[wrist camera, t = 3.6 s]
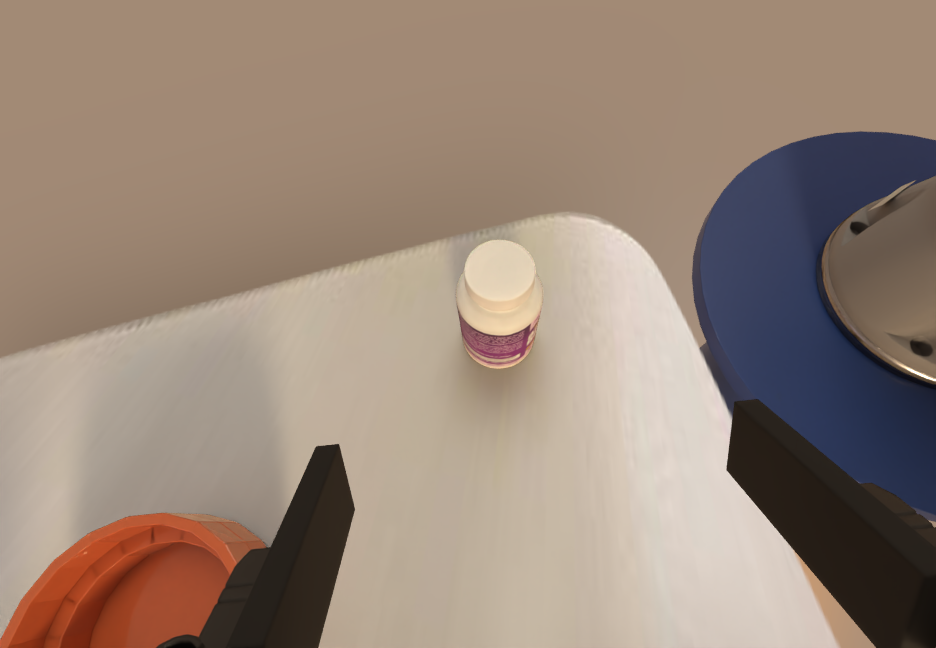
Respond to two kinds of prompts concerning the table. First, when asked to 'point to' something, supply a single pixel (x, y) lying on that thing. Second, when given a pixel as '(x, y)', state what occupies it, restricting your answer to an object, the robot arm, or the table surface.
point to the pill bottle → (499, 303)
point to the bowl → (132, 584)
